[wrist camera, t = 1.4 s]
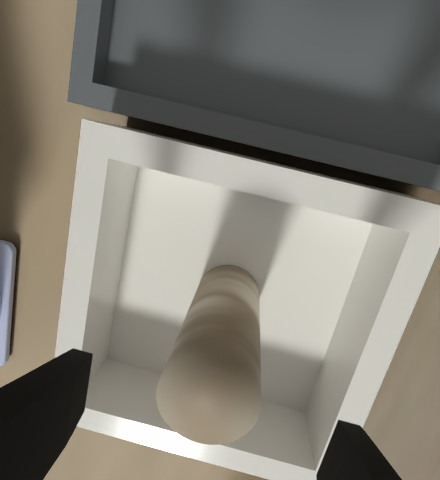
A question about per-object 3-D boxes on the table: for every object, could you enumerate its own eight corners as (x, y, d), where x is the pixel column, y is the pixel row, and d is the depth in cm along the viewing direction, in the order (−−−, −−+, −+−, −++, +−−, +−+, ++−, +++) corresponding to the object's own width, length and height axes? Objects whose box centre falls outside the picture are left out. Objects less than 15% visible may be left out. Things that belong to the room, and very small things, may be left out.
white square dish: (90, 362, 21) (47, 418, 17) (125, 126, 17) (81, 118, 13) (316, 423, 20) (332, 497, 16) (403, 193, 17) (455, 209, 12)
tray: (88, 106, 17) (67, 101, 15) (118, -143, 14) (96, -187, 13) (449, 193, 16) (474, 199, 15) (550, -51, 14) (598, -83, 12)
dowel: (192, 313, 19) (147, 429, 11) (205, 257, 18) (166, 342, 10) (250, 328, 18) (246, 456, 11) (266, 273, 18) (274, 370, 10)
